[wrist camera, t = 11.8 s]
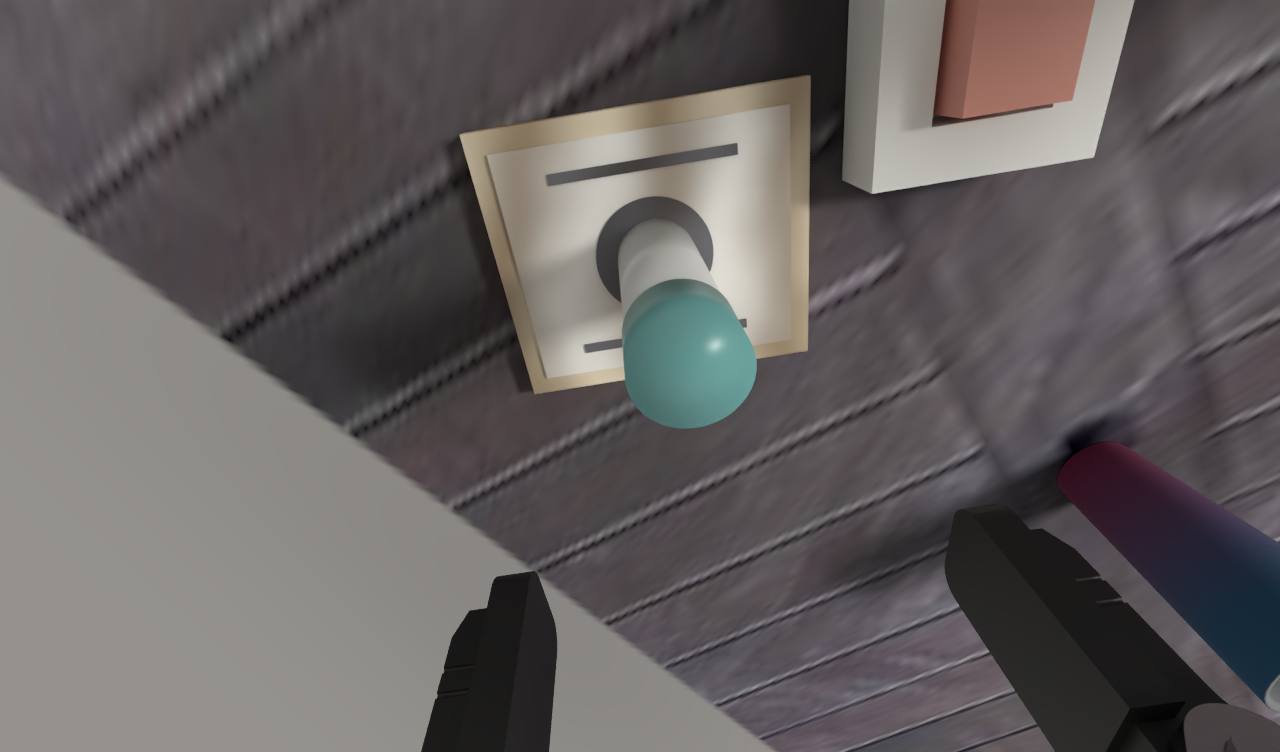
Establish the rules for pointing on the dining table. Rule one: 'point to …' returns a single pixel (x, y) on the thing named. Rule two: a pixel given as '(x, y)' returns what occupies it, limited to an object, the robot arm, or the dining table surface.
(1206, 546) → the cup
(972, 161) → the button housing
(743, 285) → the paper board
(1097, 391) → the dining table surface
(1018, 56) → the button
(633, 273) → the marker
